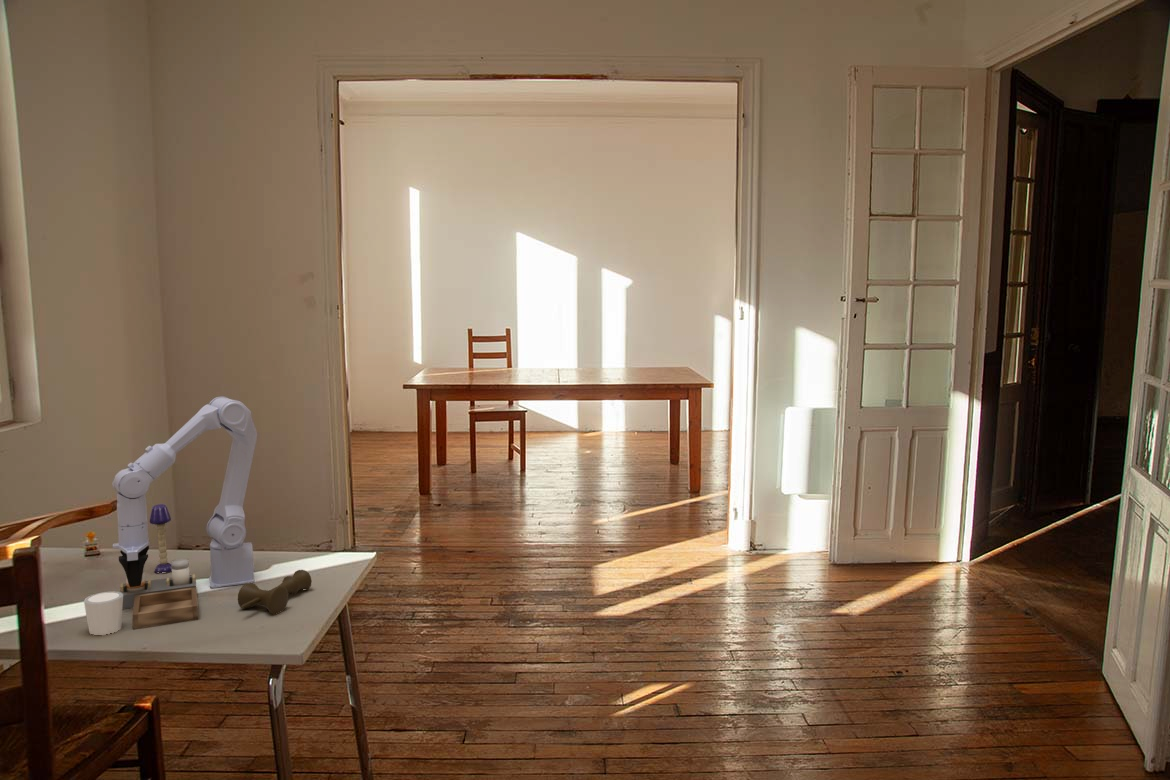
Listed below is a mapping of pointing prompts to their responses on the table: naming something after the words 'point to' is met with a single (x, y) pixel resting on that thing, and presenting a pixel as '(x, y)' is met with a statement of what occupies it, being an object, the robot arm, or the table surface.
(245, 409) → the robot arm
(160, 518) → the toy lamp
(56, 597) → the table surface
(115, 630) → the white tapered cup
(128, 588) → the marked fuse
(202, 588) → the table surface
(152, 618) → the tray
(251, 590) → the kendama
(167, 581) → the fuse holder
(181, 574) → the plain fuse
